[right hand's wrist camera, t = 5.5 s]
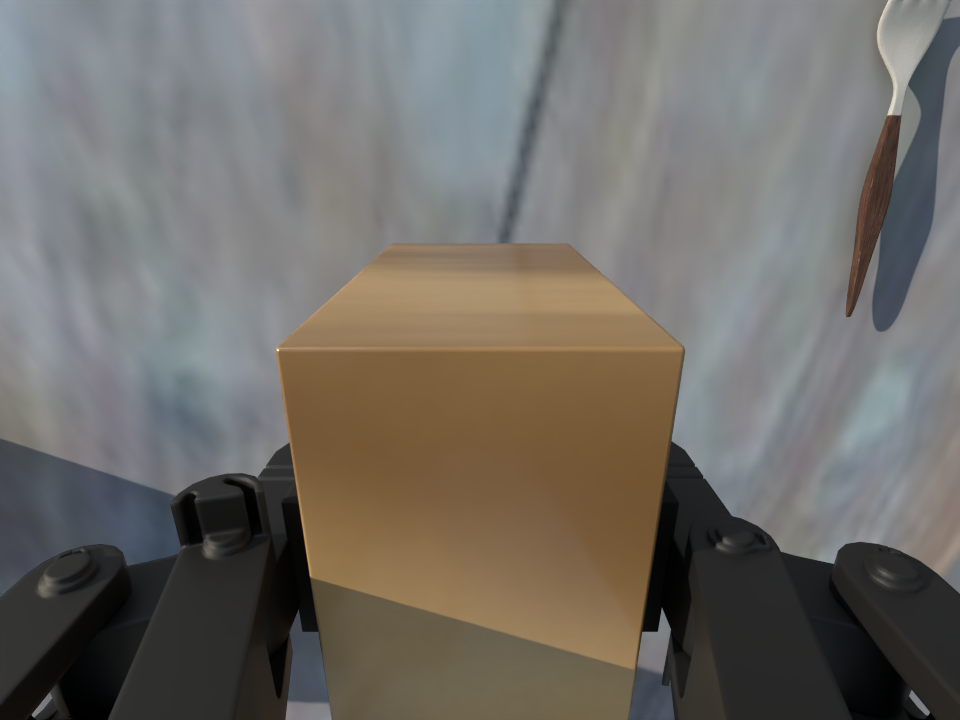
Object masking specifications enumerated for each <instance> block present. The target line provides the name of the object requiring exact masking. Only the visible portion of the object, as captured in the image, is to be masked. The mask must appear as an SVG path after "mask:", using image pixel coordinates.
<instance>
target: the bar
mask: <svg viewBox="0 0 960 720" xmlns="http://www.w3.org/2000/svg"><path fill="white" fill-rule="evenodd" d="M684 355H685V349H684V347H683V346H682V345H681V344H680V343H679V342H678V341H677V340H676V339H675V338H673V337H672V336H671V335H670V334H669V333H668V332H667V331H666V330H664V329H663V328H662V327H661V326H660V325H659V324H658V323H657V322H655V321H654V320H653V319H652V318H651V317H650V316H649V315H648V314H647V313H645V312H644V311H643V310H642V309H641V308H640V307H639V306H638V305H636V304H635V303H634V302H633V301H632V300H631V299H630V298H629V297H628V296H626V295H625V294H624V293H623V292H622V291H621V290H620V289H619V288H617V287H616V286H615V285H614V284H613V283H612V282H611V281H610V280H608V279H607V278H606V277H605V276H604V275H603V274H602V273H601V272H600V271H598V270H597V269H596V268H595V267H594V266H593V265H592V264H591V263H589V262H588V261H587V260H586V259H585V258H584V257H583V256H582V255H581V254H579V253H578V252H577V251H576V250H575V249H574V248H573V247H572V246H570V245H569V244H391V245H390V246H389V247H388V248H386V249H385V250H384V251H383V252H382V253H381V254H380V255H379V256H378V257H376V258H375V259H374V260H373V261H372V262H371V263H370V264H369V265H368V266H366V267H365V268H364V269H363V270H362V271H361V272H360V273H359V274H358V275H356V276H355V277H354V278H353V279H352V280H351V281H350V282H349V283H347V284H346V285H345V286H344V287H343V288H342V289H341V290H340V291H339V292H337V293H336V294H335V295H334V296H333V297H332V298H331V299H330V300H329V301H327V302H326V303H325V304H324V305H323V306H322V307H321V308H320V309H319V310H317V311H316V312H315V313H314V314H313V315H312V316H311V317H310V318H309V319H307V320H306V321H305V322H304V323H303V324H302V325H301V326H300V327H298V328H297V329H296V330H295V331H294V332H293V333H292V334H291V335H290V336H288V337H287V338H286V339H285V340H284V341H283V342H282V343H281V344H280V345H278V346H277V348H276V356H277V362H278V369H279V376H280V382H281V389H282V395H283V402H284V408H285V415H286V422H287V428H288V435H289V441H290V448H291V454H292V461H293V468H294V474H295V481H296V487H297V494H298V500H299V507H300V514H301V520H302V527H303V533H304V540H305V547H306V553H307V560H308V566H309V573H310V579H311V586H312V593H313V599H314V606H315V612H316V619H317V625H318V632H319V639H320V645H321V652H322V658H323V665H324V671H325V678H326V685H327V691H328V698H329V704H330V711H331V717H332V720H629V714H630V708H631V701H632V695H633V688H634V682H635V675H636V669H637V662H638V656H639V649H640V642H641V636H642V629H643V623H644V616H645V610H646V603H647V597H648V590H649V584H650V577H651V571H652V564H653V557H654V551H655V544H656V538H657V531H658V525H659V518H660V512H661V505H662V499H663V492H664V486H665V479H666V472H667V466H668V459H669V453H670V446H671V440H672V433H673V427H674V420H675V414H676V407H677V401H678V394H679V387H680V381H681V374H682V368H683V361H684Z"/></svg>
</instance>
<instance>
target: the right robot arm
mask: <svg viewBox="0 0 960 720" xmlns="http://www.w3.org/2000/svg"><path fill="white" fill-rule="evenodd" d="M170 506H171V509H172V513H173V517H174V521H175V525H176V529H177V532H178V536H179V540H180V544H181V550H180V552H179V554H178V555H174V556H170V557H167V558H163V559H158V560H153V561H149V562H144V563H140V564H135V565H130V566H127V565H126V561H125V558H124V555H123V552H121V551H120V550H119V549H118V548H117V547H115V546H110V545H104V544H98V545H90V546H82V547H79V548H75V549H73V550H69V551H66V552H63V553H61V554H59V555H57V556H55V557H53V558H51V559H49V560H47V561H45V562H43V563H41V564H40V565H39V566H37V567H36V568H34V569H33V570H32V571H30V572H29V573H28V574H26V575H25V576H24V577H23V578H21V579H20V580H19V581H18V582H17V583H16V584H15V585H14V586H13V587H12V588H10V589H9V590H8V591H7V592H6V593H5V594H4V595H3V596H2V597H0V720H285V718H286V709H287V700H288V691H289V681H290V672H291V663H292V654H293V652H292V645H291V639H290V633H289V631H290V629H291V626H292V624H293V621H294V619H295V617H296V614H297V612H298V609H299V613H300V619H301V625H302V631H303V632H318V625H317V619H316V612H315V606H314V599H313V593H312V586H311V579H310V573H309V566H308V560H307V553H306V547H305V540H304V533H303V527H302V520H301V514H300V507H299V500H298V494H297V487H296V481H295V474H294V468H293V461H292V454H291V448H290V443H288V444H287V445H285V446H284V447H282V448H281V449H279V450H278V451H276V452H275V454H274V455H273V457H272V458H271V459H270V461H269V462H268V464H267V465H266V469H263V471H262V472H261V474H260V475H259V476H258V478H256V477H255V476H251V475H247V474H243V473H237V474H223V475H219V476H214V477H209V478H207V479H204V480H202V481H200V482H197V483H195V484H192V485H191V486H189V487H188V488H186V489H185V490H183V491H182V492H180V493H179V494H178V495H177V496H176V497H175V498H174V500H173V501H172V502H171V503H170ZM662 608H663V611H664V613H665V616H666V618H667V620H668V623H669V625H670V628H671V633H670V639H669V644H668V650H667V655H666V661H665V666H664V672H663V679H662V685H666V686H669V681H670V680H671V689H672V698H673V708H674V717H675V720H960V594H959V593H958V592H957V591H956V590H955V589H954V588H952V587H951V586H950V585H949V584H948V583H947V582H946V581H945V580H944V579H943V578H941V577H940V576H939V575H938V574H937V573H936V572H934V571H933V570H932V569H930V568H929V567H927V566H926V565H925V564H923V563H922V562H920V561H919V560H917V559H915V558H913V557H911V556H909V555H907V554H905V553H903V552H901V551H899V550H896V549H893V548H891V547H890V548H889V547H887V546H883V545H879V544H873V543H865V542H856V543H850V544H846V545H844V546H843V547H842V548H841V549H840V550H838V553H837V556H836V560H835V563H834V564H831V563H826V562H822V561H817V560H813V559H808V558H803V557H799V556H794V555H791V554H787V553H784V552H781V551H780V549H779V547H778V546H777V544H776V543H775V541H774V540H773V539H772V537H771V536H770V535H769V534H767V533H766V532H765V531H763V530H762V529H761V528H759V527H758V526H756V525H754V524H752V523H750V522H748V521H746V520H744V519H741V518H737V517H733V516H731V514H730V513H729V511H728V510H727V509H726V507H725V506H724V504H723V503H722V502H721V500H720V499H719V497H718V496H717V495H716V493H715V492H714V490H713V489H712V488H711V486H710V485H709V483H708V482H707V481H706V479H703V475H702V474H701V472H700V471H699V469H698V468H697V467H695V464H694V462H693V461H692V460H691V458H690V457H689V455H688V454H687V453H686V451H685V450H684V449H682V448H681V447H679V446H678V445H676V444H675V443H673V442H672V441H671V446H670V453H669V459H668V466H667V472H666V479H665V486H664V492H663V499H662V505H661V512H660V518H659V525H658V531H657V538H656V544H655V551H654V557H653V564H652V571H651V577H650V584H649V590H648V597H647V603H646V610H645V616H644V623H643V629H642V632H658V627H659V621H660V615H661V609H662ZM911 690H913V692H914V693H915V694H916V695H917V697H918V698H919V699H920V700H921V701H922V703H923V704H924V705H925V706H926V708H927V709H928V710H929V711H930V714H929V715H928V716H927V715H925V714H924V713H923V712H922V711H921V710H920V709H919V708H918V707H917V706H916V705H915V703H914V702H913V701H912V700H911V698H910V697H909V695H910V692H911ZM49 692H50V693H51V696H52V699H51V701H50V702H49V703H48V704H47V706H46V707H45V708H44V709H43V710H42V711H41V712H40V713H39V714H38V715H37V716H36V717H35V718H34V717H32V715H31V714H32V713H33V712H34V711H35V710H36V708H37V707H38V706H39V705H40V703H41V702H42V701H43V700H44V698H45V697H46V696H47V695H48V694H49Z"/></svg>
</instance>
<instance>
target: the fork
mask: <svg viewBox="0 0 960 720" xmlns="http://www.w3.org/2000/svg"><path fill="white" fill-rule="evenodd" d="M950 2H951V0H889V1H888V3H887V5H886V7H885V9H884V11H883V13H882V16H881V18H880V21H879V25H878V30H877V43H878V48H879V51H880V54H881V56H882V59H883V61H884V63H885V65H886V67H887V69H888V71H889V73H890V76H891V78H892V82H893V88H894V90H893V98H892V102H891V105H890V109H889V112H888V115H887V118H886V121H885V124H884V127H883V130H882V132H881V135H880V138H879V141H878V144H877V147H876V150H875V153H874V156H873V158H872V161H871V164H870V167H869V171H868V174H867V177H866V180H865V183H864V187H863V190H862V194H861V199H860V204H859V210H858V218H857V227H856V236H855V245H854V253H853V261H852V267H851V274H850V280H849V287H848V294H847V303H846V317H850V316H851V314H852V312H853V310H854V308H855V305H856V302H857V300H858V297H859V294H860V291H861V288H862V285H863V282H864V279H865V275H866V272H867V269H868V266H869V263H870V260H871V257H872V254H873V251H874V248H875V245H876V242H877V239H878V236H879V233H880V230H881V227H882V224H883V221H884V218H885V215H886V212H887V208H888V205H889V201H890V197H891V192H892V186H893V179H894V172H895V164H896V156H897V148H898V139H899V130H900V122H901V114H902V107H903V101H904V96H905V92H906V88H907V86H908V83H909V81H910V79H911V77H912V75H913V73H914V71H915V69H916V68H917V66H918V64H919V63H920V61H921V60H922V58H923V56H924V55H925V53H926V51H927V50H928V48H929V46H930V45H931V43H932V41H933V39H934V37H935V35H936V33H937V31H938V29H939V27H940V25H941V23H942V21H943V19H944V16H945V14H946V12H947V9H948V7H949V5H950Z"/></svg>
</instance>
